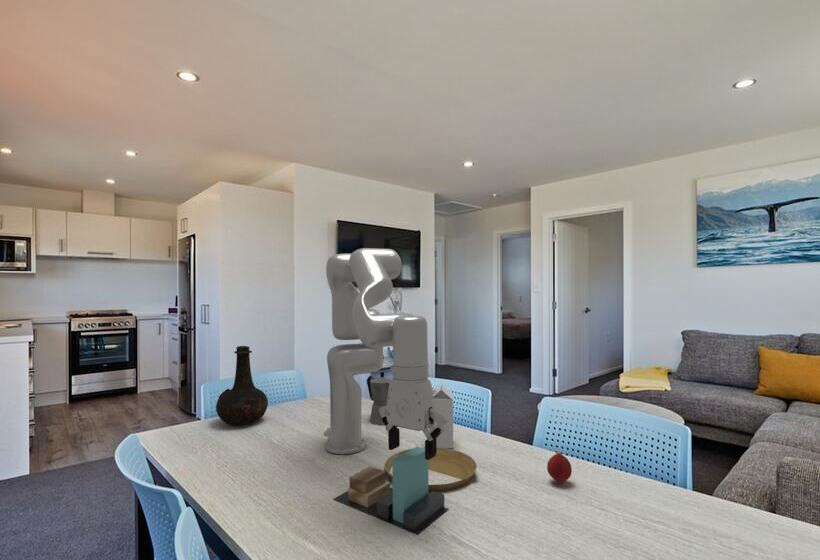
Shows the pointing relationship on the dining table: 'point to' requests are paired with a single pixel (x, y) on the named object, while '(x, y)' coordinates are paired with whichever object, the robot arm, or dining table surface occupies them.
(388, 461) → the plant saucer
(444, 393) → the milk carton
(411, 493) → the teal board
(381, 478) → the offcut high
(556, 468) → the onion
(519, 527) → the dining table surface
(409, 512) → the rack
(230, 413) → the glass bottle
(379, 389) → the coffeepot
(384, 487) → the offcut low
